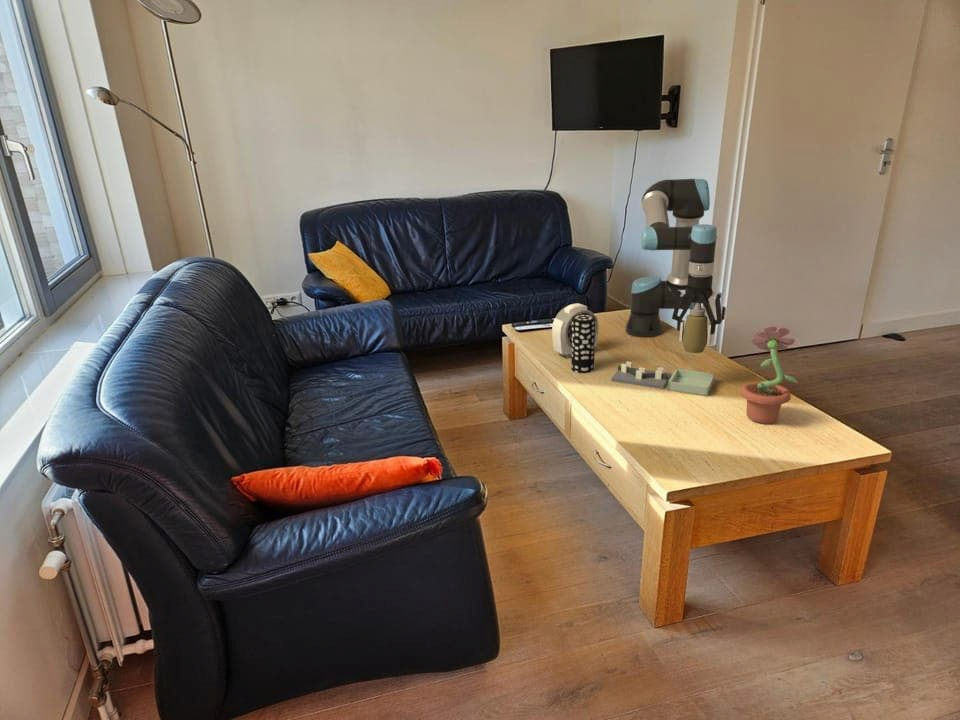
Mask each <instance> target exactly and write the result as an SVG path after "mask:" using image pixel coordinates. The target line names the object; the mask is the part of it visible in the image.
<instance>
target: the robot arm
mask: <svg viewBox="0 0 960 720" xmlns="http://www.w3.org/2000/svg"><path fill="white" fill-rule="evenodd" d="M709 187H710V186H709V182H708V181H707V180H706V179H703V178H682V179H681V178H680V179H678V178H677V179H669V178H668V179H662V180H660V181H656V182H655V183H653V184H652V185H650V187H648V188H647V189H645V192H644V194H643V195H642V196H641V197H642V199H641V207H642V211H644V214H645V224H646V227H643V228H642V229H641V236H640V237H641V240H640V241H641V244H640V245H641V249H643V250H644V251H645V250H646V251H647V250H648V251H672V260H671V262H672V263H671V272H670V273H669V274H668V275H667V276H666V280H662V279H661V276H657V275H656V276H655V275H654V276H652V275H651V276H643V277H639V278H637V279H635V280H633V282H632V285H631V291H630V293H631V298H630V299H631V300H630V314H629V317H628V320H627V322H626V324H625V332H626V333H627V334H628V335H630V336H632V337H638V338H639V337H641V338H652V337H653V338H654V337H656V336H660V335H661V334H662V333H663V325H662V322H661V317H660V309H661V310H673V312H672V316H671V319H672V320H673V321H676V330H677V331H678V332H679V340H678V341H679V342H683V341H682V338H683V333H684V328H685V322H686V320H683V318H684V317H685V315H686V314H687V312H688V310H690V309H691V308H694V305H695V303H700V304H701V305H703V307H704V309H705V313H706V315H707V318H708V319H709V324H707V344H706V345H710V344H711V339H712V335H714V334H715V333H716V326H717V325H720V324H722V321H723V315H722V307H721V297H722V292H715V291H713V280H714V279H713V278H714V277H713V274H714V270H715V269H714V268H715V255H716V245H717V239H718V236H717V233H718V228H717V226H716V225H714V224H713V225H712V224H704V223H703V224H700V220H701V219H702V218H703V217H704V216H705V212H707V211H709V210H710V204H711V202H710V201H711V200H710V199H711V198H710V197H711V196H710V188H709ZM668 212H672V217H674V218H675V226H670V223H669V222H670V221H669V216H668ZM711 297H713V300H714V306H715V315H714V312H713V309H712V307H711V304H710V300H709V299H710V298H711ZM679 310H682V311H681V313H680V315H679V314H678V313H679ZM715 316H716V318H715Z"/></svg>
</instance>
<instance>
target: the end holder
mask: <svg viewBox="0 0 960 720" xmlns="http://www.w3.org/2000/svg"><path fill="white" fill-rule="evenodd" d="M714 383H715V373H712V372H711V373H710V372H705V371H704V372H703V371H695V370H689V369H682V368H675V369H674V371H673V373H672V374H671V377H670V379H669V380H668V382H667V389H666V390H667V391H670V392H676V393H682V394H691V395H697V396H704V397H708V396H709V394H710V392H711V390H712V387H713V385H714Z"/></svg>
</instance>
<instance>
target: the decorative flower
mask: <svg viewBox="0 0 960 720" xmlns="http://www.w3.org/2000/svg"><path fill="white" fill-rule="evenodd" d="M763 330H764V331H763ZM763 330H761V329H758V330H756V331H755V332H754V334H753V338H751V342H752V344H753V345H755V346H756V347H757V348H758V349H760V350H763V351H768V352H770V357H771V358H767V359H765V360H764V361H762V363H761V364H759V365H760V367H767V366H769V365H770V364H771V363H773V367H774V370H775V373H776V378H774V379H772V380H766V381H751V382H746V383H745V384H743V385H742V386H741V387H740V390H739V391H740V392H739V394H740V396H741V398H743V399H745V400H746V416H747V418H748V419H749V420H750V421H752V422H755V423H759V424H765V425H766V424H773V423H775V422H777V421H778V419H779V415H780V411H781V407H782V405H785V404H786V403H789V402H790V401H791V397H792V395H791V393H790V391H789V389H788V388H786V387H784V386H783V385H780V384H781V383H782V382H783V380H784V378H785V379H786V380H787V381H789V382H792V383H797V384H798V383H799V382H798V381H797V380H796V379H795V378H794V377H793V376H790V375H787V374H784V371H783V368H782V366H781V362H780V359H779V353H778V351H781V350H786V349H789V346H791V345H793V344H794V343H795V342H796V339H795V338H789V337H788V336H786V335H788V334H790V332H791V331H790V330H789V329H788V328H786V327H782V326H781V327H779V328H778V327H777V326H774V325H769V326H765V327H764V329H763Z"/></svg>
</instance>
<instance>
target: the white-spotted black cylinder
mask: <svg viewBox="0 0 960 720" xmlns="http://www.w3.org/2000/svg"><path fill="white" fill-rule="evenodd" d="M595 348H596V347H595V316H593V315H588V314H579V315H574V316H573V317H572V358H570V361H571V362H570V363H571V364H570V365H571V367H570V368H571V369H570V370H571V371H572V372H574V373H578V374H588V373H589V374H590V373H592V372H594V371H595Z"/></svg>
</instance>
